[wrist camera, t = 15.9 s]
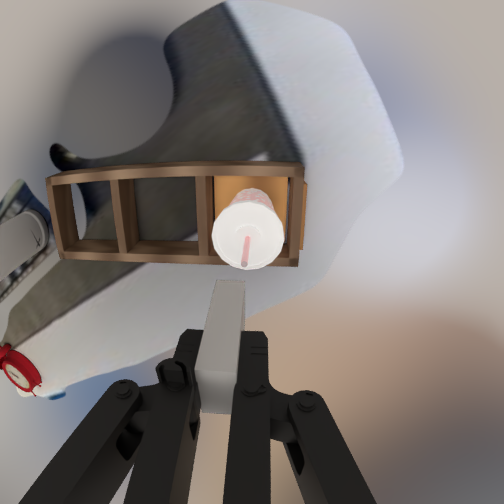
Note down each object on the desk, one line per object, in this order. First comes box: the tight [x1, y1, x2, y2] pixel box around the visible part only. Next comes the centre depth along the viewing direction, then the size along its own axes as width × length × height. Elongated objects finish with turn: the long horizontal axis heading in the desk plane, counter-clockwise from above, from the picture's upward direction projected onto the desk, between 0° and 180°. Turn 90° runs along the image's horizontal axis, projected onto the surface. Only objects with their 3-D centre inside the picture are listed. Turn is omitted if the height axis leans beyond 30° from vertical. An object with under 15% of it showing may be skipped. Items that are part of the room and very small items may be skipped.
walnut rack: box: [45, 161, 307, 267], centre depth 32 cm, size 30×10×4 cm, turn 89°
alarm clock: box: [0, 344, 42, 396], centre depth 48 cm, size 10×6×15 cm
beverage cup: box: [212, 188, 284, 270], centre depth 27 cm, size 6×6×14 cm
